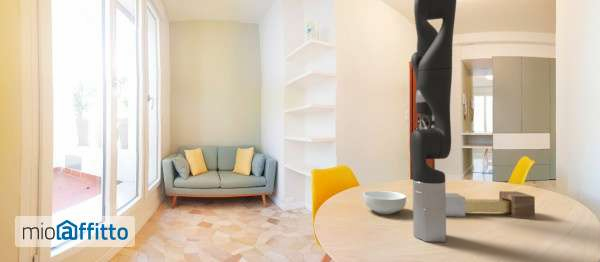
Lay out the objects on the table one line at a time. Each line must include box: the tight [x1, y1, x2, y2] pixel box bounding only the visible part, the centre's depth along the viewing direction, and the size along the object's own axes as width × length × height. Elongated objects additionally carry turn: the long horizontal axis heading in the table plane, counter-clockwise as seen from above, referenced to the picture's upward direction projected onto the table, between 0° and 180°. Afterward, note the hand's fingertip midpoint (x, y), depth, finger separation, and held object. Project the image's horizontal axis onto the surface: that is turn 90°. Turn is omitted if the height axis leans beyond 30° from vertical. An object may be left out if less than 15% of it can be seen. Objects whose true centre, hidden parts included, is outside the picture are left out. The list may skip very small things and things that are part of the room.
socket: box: [498, 190, 536, 219], centre depth 108 cm, size 9×7×8 cm
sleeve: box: [445, 192, 467, 218], centre depth 110 cm, size 7×15×7 cm, turn 85°
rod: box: [465, 198, 512, 214], centre depth 109 cm, size 4×24×4 cm, turn 85°
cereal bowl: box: [363, 190, 407, 215], centre depth 114 cm, size 17×17×7 cm
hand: (426, 142), depth 110 cm, fingers open, 8 cm apart
